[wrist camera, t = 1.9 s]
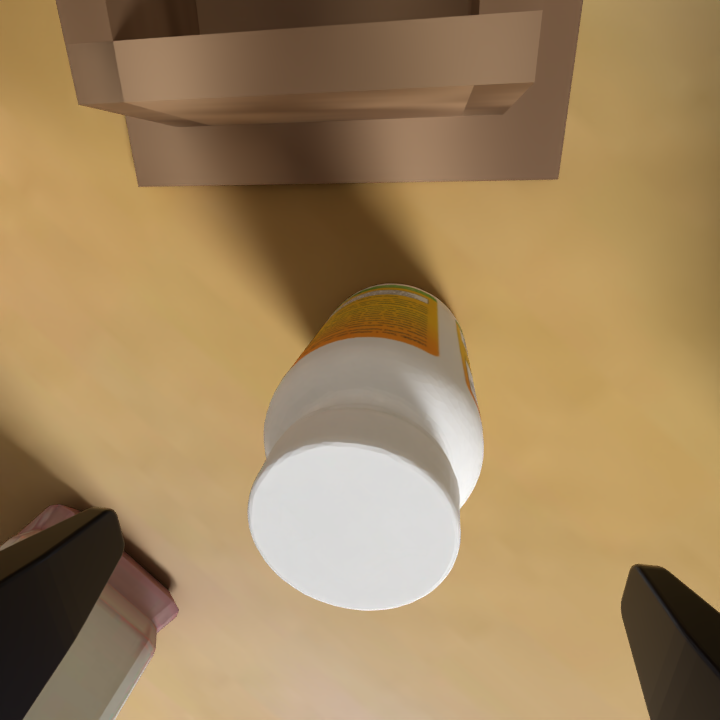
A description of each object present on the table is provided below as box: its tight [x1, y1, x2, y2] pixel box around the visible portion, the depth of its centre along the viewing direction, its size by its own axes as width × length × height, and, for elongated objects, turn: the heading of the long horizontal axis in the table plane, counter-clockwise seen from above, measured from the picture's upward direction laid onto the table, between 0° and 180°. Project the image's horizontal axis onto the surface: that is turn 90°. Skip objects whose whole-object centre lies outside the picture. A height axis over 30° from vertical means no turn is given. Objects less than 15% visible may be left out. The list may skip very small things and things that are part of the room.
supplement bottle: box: [248, 283, 484, 610], centre depth 12 cm, size 5×5×10 cm
